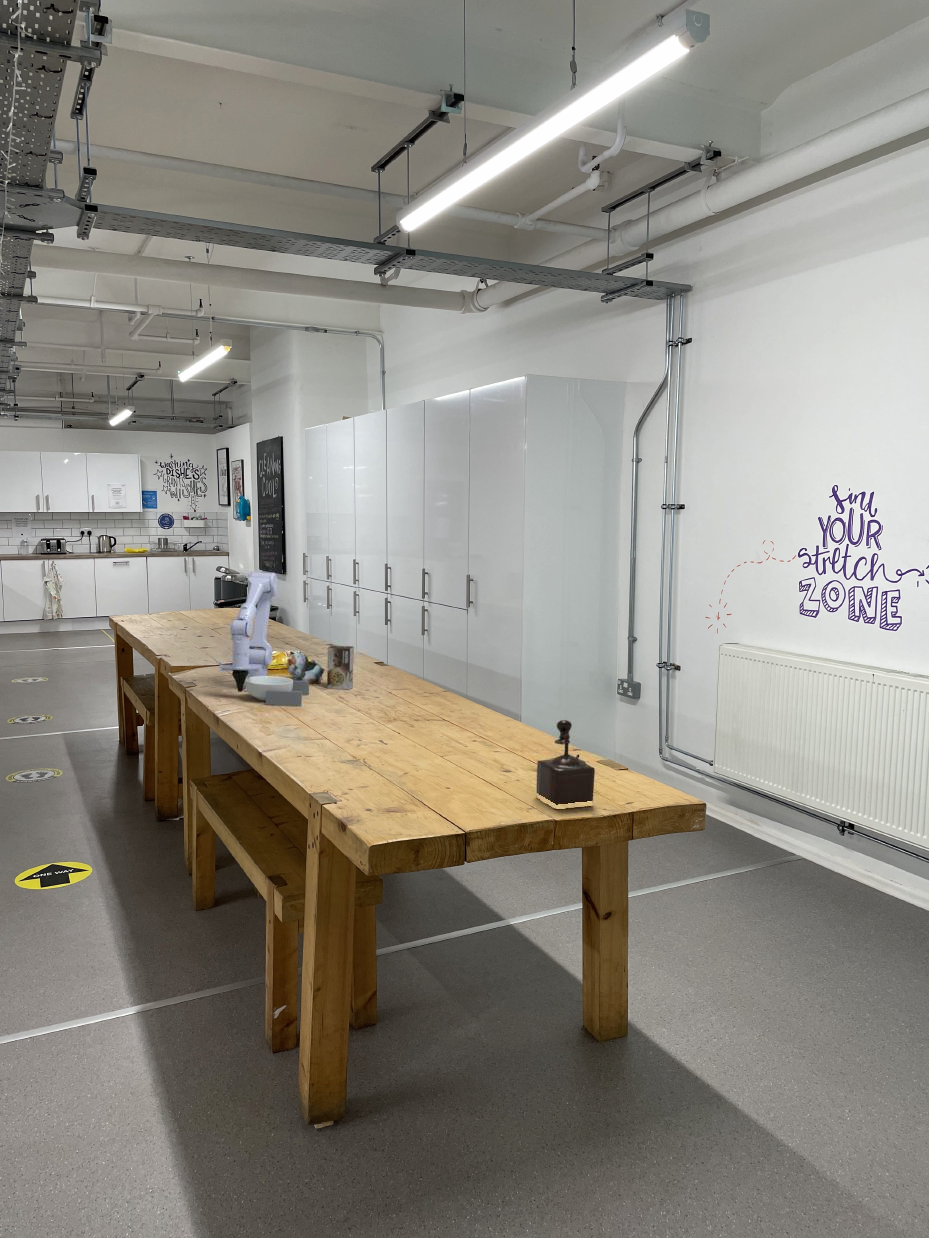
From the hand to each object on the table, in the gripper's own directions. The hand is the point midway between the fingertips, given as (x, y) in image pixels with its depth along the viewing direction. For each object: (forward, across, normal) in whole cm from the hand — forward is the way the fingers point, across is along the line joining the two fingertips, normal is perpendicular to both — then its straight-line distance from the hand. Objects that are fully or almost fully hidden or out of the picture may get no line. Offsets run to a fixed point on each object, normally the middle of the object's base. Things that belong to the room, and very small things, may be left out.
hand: (240, 691), depth 314 cm
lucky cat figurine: (+3, +18, +36) cm, 41 cm away
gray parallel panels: (+2, +17, 0) cm, 17 cm away
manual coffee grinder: (+3, +99, -106) cm, 145 cm away
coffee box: (+3, +33, +26) cm, 42 cm away
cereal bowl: (+3, +10, 0) cm, 11 cm away
